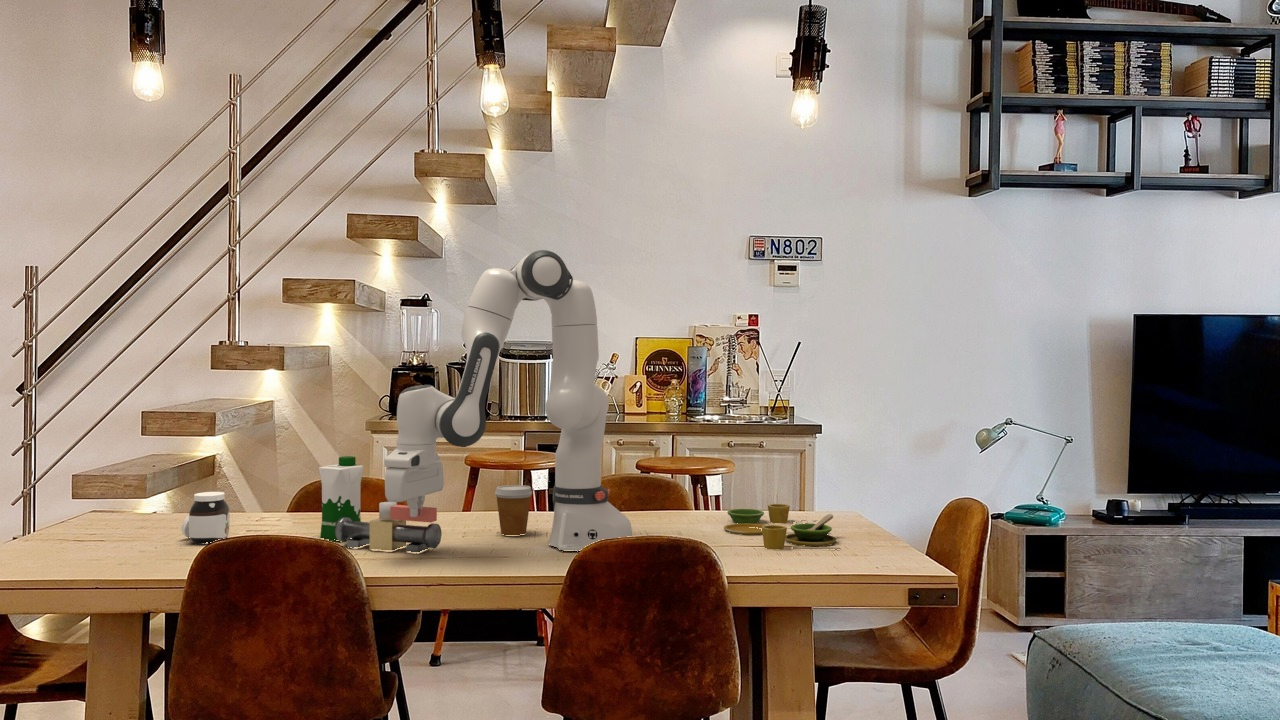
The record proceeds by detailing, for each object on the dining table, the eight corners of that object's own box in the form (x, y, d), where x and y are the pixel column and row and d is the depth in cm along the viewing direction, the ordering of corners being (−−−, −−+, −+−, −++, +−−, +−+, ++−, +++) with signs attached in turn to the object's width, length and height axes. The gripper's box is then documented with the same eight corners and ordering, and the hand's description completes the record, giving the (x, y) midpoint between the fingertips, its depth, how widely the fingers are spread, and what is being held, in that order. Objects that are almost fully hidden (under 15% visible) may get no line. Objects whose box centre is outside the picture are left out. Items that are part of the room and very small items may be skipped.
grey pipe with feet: (441, 550, 224) (442, 520, 223) (428, 555, 218) (428, 525, 218) (349, 543, 231) (349, 514, 231) (334, 548, 226) (334, 518, 226)
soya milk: (367, 537, 239) (367, 457, 239) (340, 543, 231) (340, 461, 231) (341, 533, 243) (341, 455, 243) (313, 540, 235) (313, 458, 235)
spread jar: (216, 545, 228) (216, 497, 228) (168, 545, 228) (168, 496, 228) (237, 535, 240) (237, 489, 240) (192, 535, 240) (191, 489, 240)
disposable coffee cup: (535, 531, 247) (535, 485, 247) (527, 538, 238) (528, 490, 238) (499, 530, 248) (499, 484, 248) (490, 537, 239) (490, 489, 239)
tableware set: (844, 554, 225) (844, 527, 224) (725, 552, 226) (726, 525, 226) (822, 522, 266) (822, 499, 266) (721, 520, 267) (722, 498, 267)
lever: (375, 518, 223) (375, 503, 223) (386, 515, 227) (386, 501, 227) (428, 523, 218) (428, 507, 218) (438, 520, 222) (438, 505, 222)
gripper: (427, 450, 230) (426, 508, 230) (379, 460, 210) (379, 522, 210) (450, 452, 228) (450, 509, 228) (405, 461, 208) (404, 524, 208)
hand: (415, 516), depth 219 cm, fingers closed
